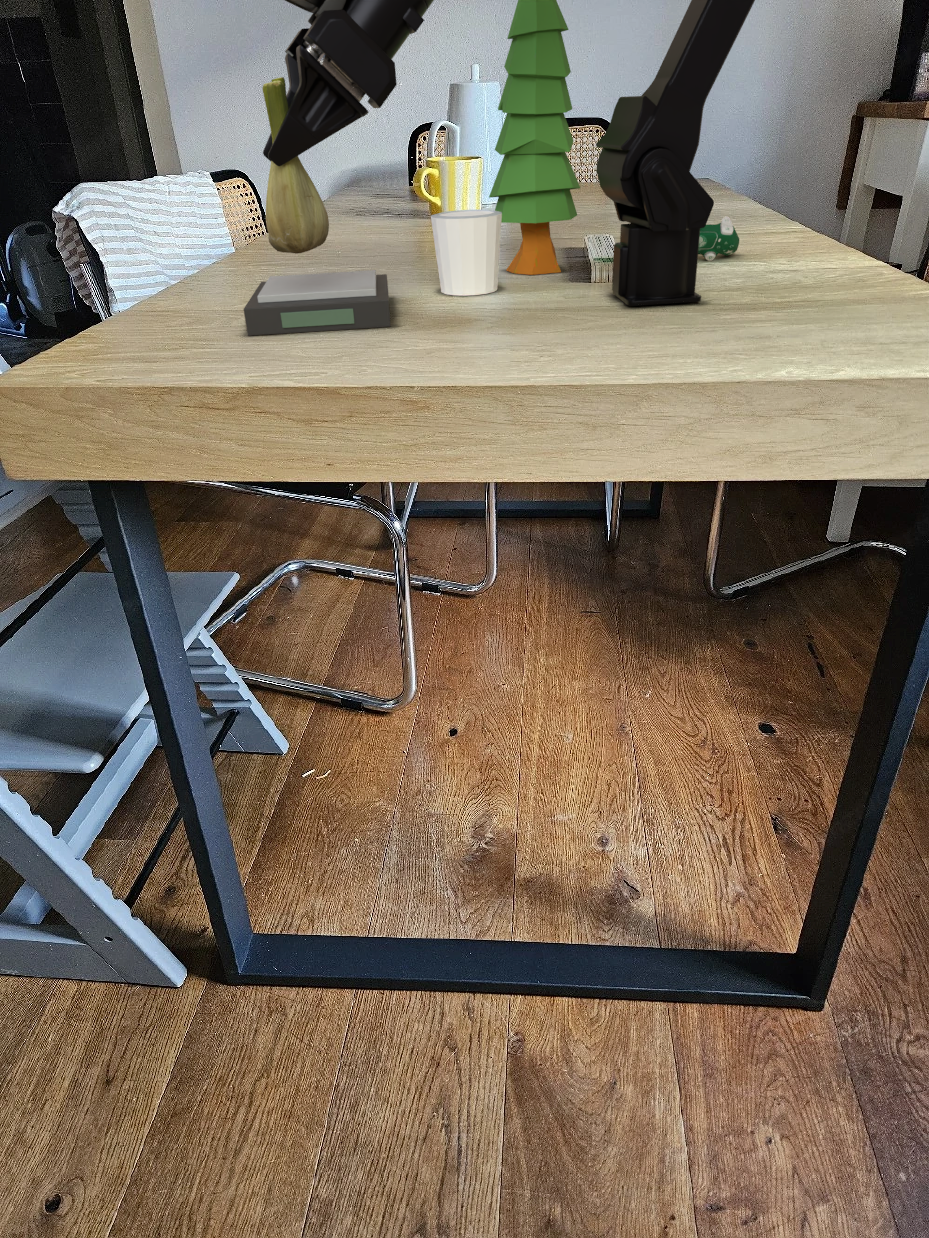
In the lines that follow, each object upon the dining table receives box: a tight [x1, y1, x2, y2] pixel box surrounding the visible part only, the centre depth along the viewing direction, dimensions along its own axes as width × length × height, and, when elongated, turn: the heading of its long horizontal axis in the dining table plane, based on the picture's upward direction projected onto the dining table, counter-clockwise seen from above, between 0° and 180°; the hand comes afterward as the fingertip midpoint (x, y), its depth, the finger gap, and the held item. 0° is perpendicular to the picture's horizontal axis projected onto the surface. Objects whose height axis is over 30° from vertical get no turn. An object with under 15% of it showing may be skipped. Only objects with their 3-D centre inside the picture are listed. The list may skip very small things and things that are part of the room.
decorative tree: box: [488, 0, 581, 276], centre depth 89 cm, size 10×9×30 cm
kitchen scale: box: [243, 269, 392, 337], centre depth 79 cm, size 12×13×3 cm
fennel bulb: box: [261, 76, 330, 255], centre depth 69 cm, size 6×5×12 cm
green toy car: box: [698, 215, 740, 262], centre depth 97 cm, size 9×4×6 cm
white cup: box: [430, 209, 502, 297], centre depth 86 cm, size 7×7×7 cm
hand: (270, 160), depth 68 cm, fingers closed on fennel bulb, 6 cm apart
